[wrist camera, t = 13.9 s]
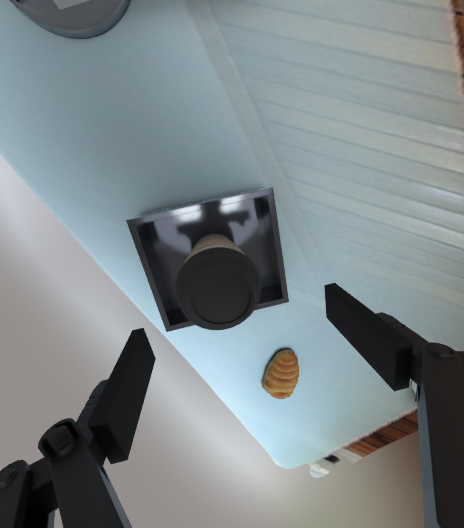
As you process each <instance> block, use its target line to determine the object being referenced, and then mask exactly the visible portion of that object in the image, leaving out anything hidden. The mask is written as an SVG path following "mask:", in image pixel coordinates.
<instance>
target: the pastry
mask: <svg viewBox="0 0 464 528" xmlns="http://www.w3.org/2000/svg"><path fill="white" fill-rule="evenodd" d="M298 377H299V366H298V359H297V357H296V355H295V354H294V352H293V351H292V350H283V351H280V352H278V353H277V354H276V355H275V356H274V358H273V360H272V361H270V362H269V364H268V367H267V369H266V371H265V375H264V377H263V383H262V387H263V389H264V390H266V392H267V393H269V394H270V395H271V396H272V397H274V398H278V399H284V398H286V397H290V396H291V394H292V393H293V390H294V388H295V386H296V384H297V382H298Z"/></svg>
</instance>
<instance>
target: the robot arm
mask: <svg viewBox="0 0 464 528" xmlns="http://www.w3.org/2000/svg"><path fill="white" fill-rule="evenodd" d="M10 1H11V2H12V3H13V4H14V5H15V6H16V7H17V8H18V9H20V10H21V11H22V12H23V13H24V14H25V15H26V16H27V17H29V18H30V19H31V20H32V21H34V22H35V23H37V24H38V25H40V26H41V27H43V28H45V29H47V30H49V31H51V32H53V33H56V34H59V35H62V36H66V37H72V38H87V37H92V36H96V35H98V34H101V33H103V32H105V31H107V30H108V29H109V28H111V27H112V26H113V25H114V24H115V23H116V22H117V21H118V20H119V19H120V18H121V17H122V15H123V13H124V12H125V10H126V8H127V6H128V4H129V2H130V0H10ZM325 300H326V315H327V319H328V320H329V321H330V322H331V323H332V324H333V325H334V326H335V327H336V328H337V329H338V331H339V332H340V333H341V334H342V335H343V336H344V337H345V338H346V339H347V340H348V341H349V343H350V344H351V345H352V346H353V347H354V348H355V349H356V350H357V351H358V352H359V353H360V355H361V356H362V357H363V358H364V359H365V360H366V361H367V362H368V363H369V364H370V365H371V366H372V368H373V369H374V370H375V371H376V372H377V373H378V374H379V375H380V376H381V377H382V378H383V380H384V381H385V382H386V383H387V384H388V385H389V386H390V387H391V388H392V389H393V390H394V391H397V390H401V389H405V388H409V382H410V378H411V379H412V380H413V381H414V382H415V383H416V384H417V388H416V398H415V401H416V402H417V408H418V424H419V441H420V457H421V473H422V487H423V506H424V521H425V528H464V351H455V350H453V349H452V348H450V347H448V346H446V345H443V344H440V343H432V342H430V343H429V342H428V341H426V340H425V339H424V338H422V337H421V336H419V335H418V334H417V333H415V332H414V331H412V330H411V329H409V328H408V327H406V326H405V325H404V324H402V323H400V322H399V321H398V320H397V319H395V318H394V317H392V316H390V315H388V314H385V313H382V312H381V313H377V314H375V313H374V312H373V311H371V310H370V309H369V308H367V307H366V306H365V305H363V304H362V303H361V302H359V301H358V300H357V299H355V298H354V297H353V296H351V295H350V294H349V293H347V292H346V291H345V290H343V289H342V288H341V287H339V286H338V285H337V284H336V283H332V284H328V285H325ZM154 363H155V356H154V354H153V351H152V348H151V346H150V343H149V341H148V338H147V336H146V333H145V331H144V328H141V329H136V330H133V331H132V332H131V335H130V336H129V339H128V341H127V343H126V345H125V347H124V349H123V351H122V353H121V355H120V357H119V359H118V361H117V363H116V365H115V367H114V369H113V371H112V373H111V375H110V377H109V379H107V380H103V381H101V382H100V383H99V384H98V385H97V387H96V388H95V389H94V390H93V392H92V394H91V396H90V397H89V400H88V401H87V403H86V405H85V407H84V409H83V410H82V412H81V414H80V416H79V418H78V420H77V422H75V421H74V420H73V419H71V418H69V419H68V418H67V419H64V420H61V421H59V422H58V423H56V424H54V425H53V426H52V427H51V428H49V429H48V430H47V431H46V432H45V434H44V435H43V436H42V437H41V439H40V441H39V444H38V448H39V450H40V451H41V453H42V454H43V455H44V458H42V459H40V460H38V461H36V462H34V463H33V464H31V465H28V464H27V463H26V462H25V461H24V460H18V461H15V462H13V463H11V464H9V465H8V466H6V467H5V468H3V469H2V470H1V471H0V528H54V517H55V510H56V509H57V508H59V511H60V515H61V519H62V523H63V527H64V528H132V526H131V524H130V522H129V520H128V518H127V516H126V514H125V512H124V509H123V507H122V505H121V503H120V501H119V499H118V497H117V494H116V492H115V490H114V488H113V486H112V484H111V482H110V479H109V478H108V475H107V473H106V471H105V469H104V467H103V464H104V461H105V459H106V457H107V458H108V460H109V462H110V463H111V464H114V463H118V462H122V461H125V460H128V456H129V453H130V449H131V446H132V442H133V438H134V435H135V431H136V428H137V424H138V420H139V417H140V413H141V410H142V406H143V402H144V399H145V395H146V391H147V388H148V384H149V381H150V377H151V373H152V370H153V366H154Z"/></svg>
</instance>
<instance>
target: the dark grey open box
mask: <svg viewBox="0 0 464 528" xmlns="http://www.w3.org/2000/svg"><path fill="white" fill-rule="evenodd" d="M126 221H127V224H128V227H129V230H130V232H131V235H132V238H133V241H134V243H135V246H136V249H137V252H138V254H139V257H140V260H141V263H142V265H143V268H144V271H145V274H146V276H147V279H148V282H149V285H150V287H151V290H152V293H153V296H154V299H155V301H156V304H157V307H158V310H159V312H160V315H161V318H162V321H163V323H164V326H165V329H166V331H167V332H168V331H172V330H176V329H180V328H184V327H188V326H193V325H195V324H194V323H192V322H191V321H190V320H189V319H188V318H187V317H186V316H185V315H184V313H183V312H182V310H181V308H180V305H179V303H178V300H177V297H176V291H175V284H176V279H177V275H178V273H179V271H180V269H181V267H182V266H183V264H184V262H185V261H186V259H187V257H188V256H189V254H190V252H191V251H192V249H193V248H194V246H195V245H196V243H197V242H198V241H199V240H200V239H201V238H202V237H204V236H206V235H209V234H221V235H223V236H225V237H227V238H228V239H229V240H230V241H232V242H233V243H234V244H235V245H236V246H237V247H238V248H239V249H240V250H241V251H242V252H243V253H244V254H245V255H246V256H247V257H248V258H250V259H251V260H252V262H253V263H254V264H255V266H256V267H257V269H258V271H259V274H260V277H261V294H260V299H259V302H258V304H257V306H256V308H255V309H254V310H258V309H262V308H266V307H270V306H274V305H278V304H282V303H286V302H289V299H288V292H287V284H286V277H285V270H284V263H283V256H282V249H281V242H280V235H279V228H278V221H277V214H276V207H275V200H274V193H273V188H272V187H261V188H256V189H252V190H247V191H243V192H238V193H234V194H230V195H225V196H221V197H216V198H212V199H207V200H203V201H198V202H194V203H189V204H185V205H181V206H176V207H172V208H167V209H163V210H158V211H154V212H149V213H145V214H140V215H138V216H135V217H133V218H131V219H128V220H126Z"/></svg>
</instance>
